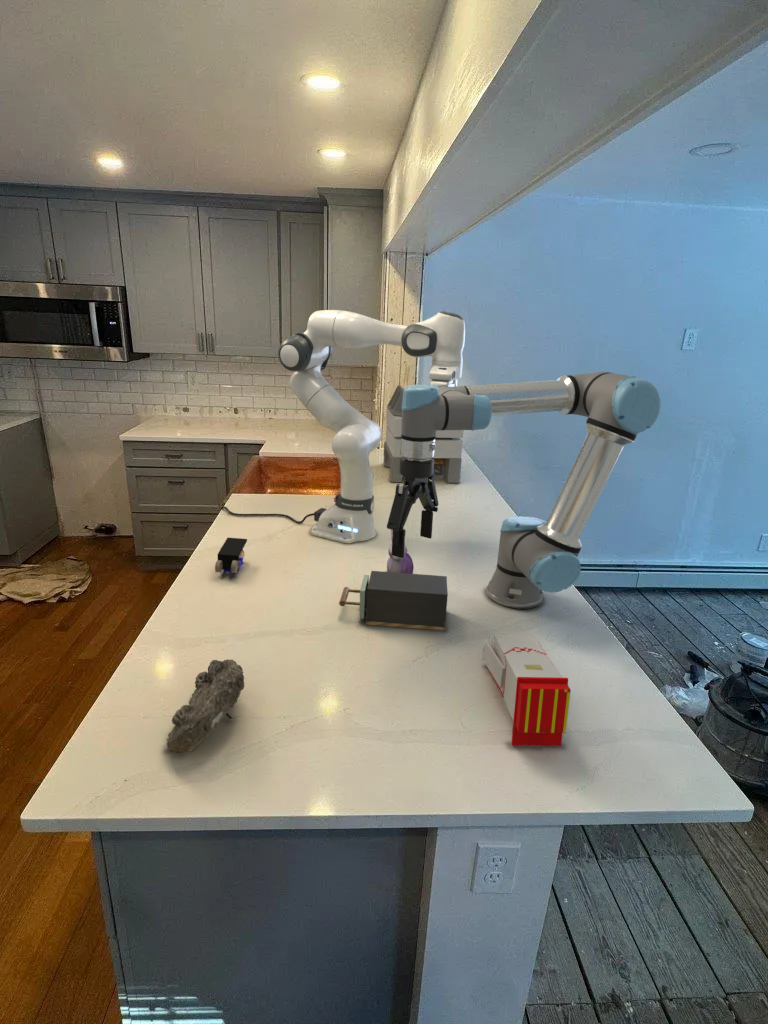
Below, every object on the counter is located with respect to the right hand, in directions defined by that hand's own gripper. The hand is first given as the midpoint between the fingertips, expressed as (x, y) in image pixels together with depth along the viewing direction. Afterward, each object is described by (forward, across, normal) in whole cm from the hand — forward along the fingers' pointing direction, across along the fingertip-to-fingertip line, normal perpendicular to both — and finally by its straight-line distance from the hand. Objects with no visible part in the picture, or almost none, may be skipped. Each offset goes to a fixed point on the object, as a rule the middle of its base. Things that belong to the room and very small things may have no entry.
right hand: (412, 546), depth 132 cm
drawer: (+22, +4, +9) cm, 24 cm away
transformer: (+24, +129, +65) cm, 146 cm away
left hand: (-21, +46, +16) cm, 53 cm away
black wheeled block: (+22, 0, +59) cm, 63 cm away
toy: (+23, -9, -31) cm, 40 cm away
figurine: (+23, +24, +16) cm, 37 cm away
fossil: (+22, -48, +16) cm, 55 cm away
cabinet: (+23, +6, +4) cm, 24 cm away
